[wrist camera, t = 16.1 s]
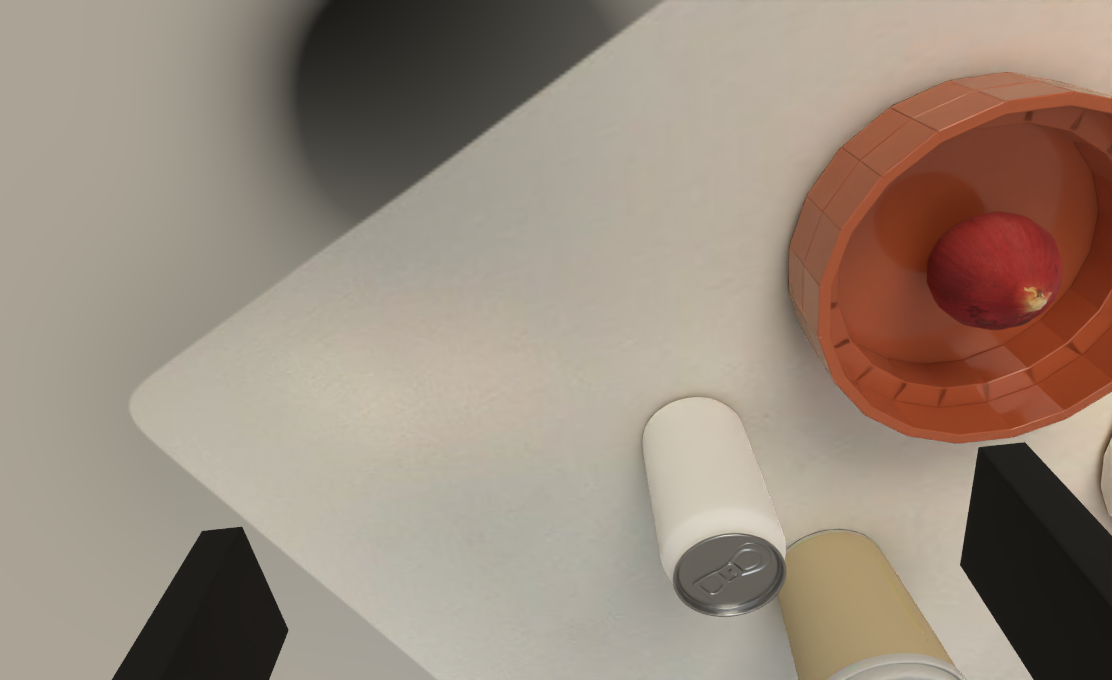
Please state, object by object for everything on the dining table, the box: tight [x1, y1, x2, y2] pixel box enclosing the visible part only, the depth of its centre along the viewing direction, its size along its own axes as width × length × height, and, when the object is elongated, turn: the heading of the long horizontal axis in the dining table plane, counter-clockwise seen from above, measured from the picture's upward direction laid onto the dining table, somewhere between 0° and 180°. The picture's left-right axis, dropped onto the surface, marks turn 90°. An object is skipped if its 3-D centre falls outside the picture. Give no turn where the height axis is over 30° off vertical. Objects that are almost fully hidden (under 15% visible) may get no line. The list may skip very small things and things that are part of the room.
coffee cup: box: [778, 530, 966, 680], centre depth 47 cm, size 9×9×12 cm
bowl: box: [789, 72, 1112, 443], centre depth 38 cm, size 18×18×6 cm
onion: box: [927, 211, 1063, 330], centre depth 37 cm, size 6×6×8 cm
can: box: [642, 397, 786, 617], centre depth 42 cm, size 6×6×12 cm
